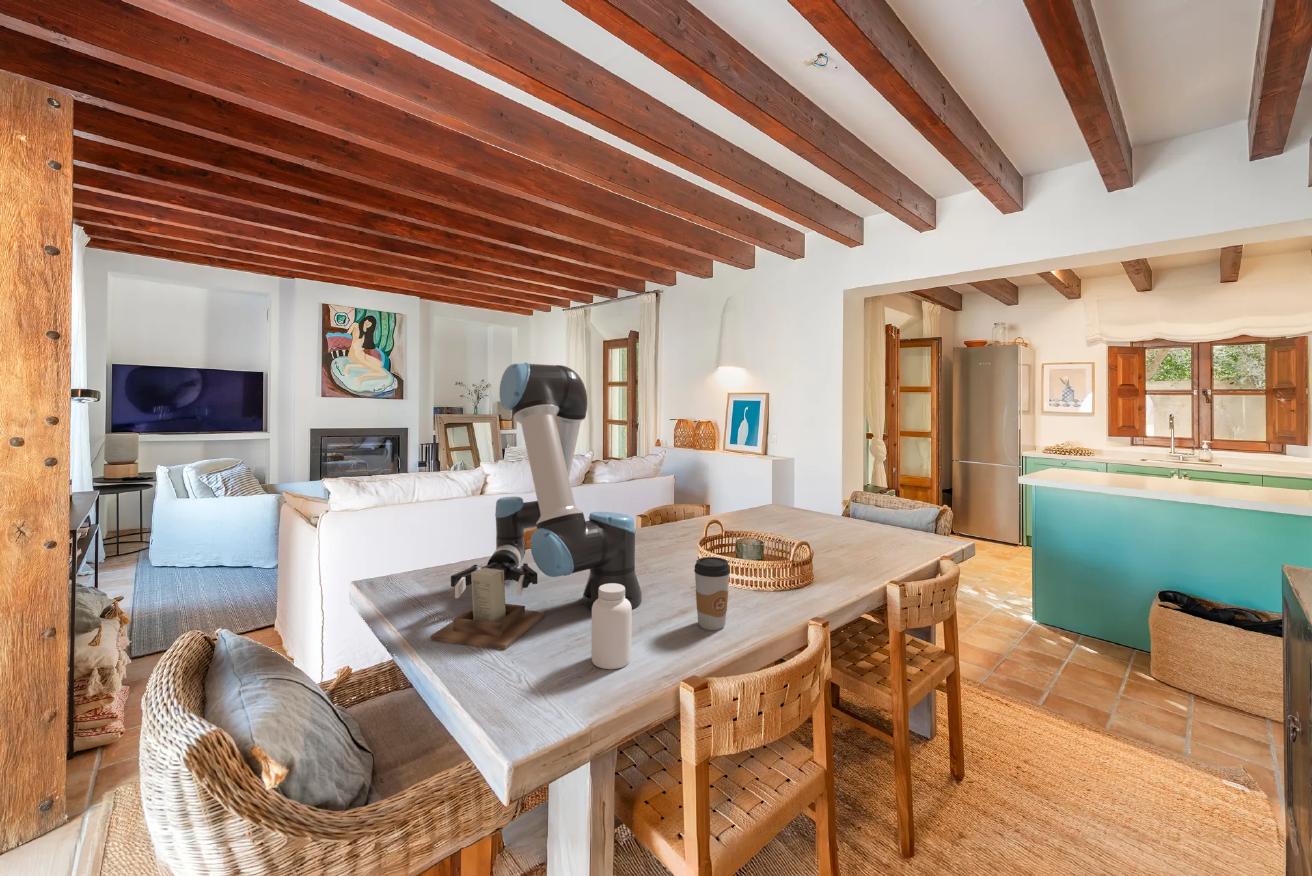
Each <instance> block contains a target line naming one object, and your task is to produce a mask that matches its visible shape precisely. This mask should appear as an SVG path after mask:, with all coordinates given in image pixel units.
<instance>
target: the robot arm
mask: <svg viewBox="0 0 1312 876" xmlns="http://www.w3.org/2000/svg"><path fill="white" fill-rule="evenodd" d="M501 376H502V377H501V379H500V384H499V390H498V391H499V401H500V404H501V406H502V407H503V408H504V409H506V410H507V411H512V416H513V417H512V418H513V420H514V421H515V422H517V423H519V424H520V425H521V429H522V433H523V434H522V435H523V440H524V443H525V449H526V453H527V458H528V462H529V467H530V471H531V476H532V481H533V484H534V485H533V486H534V491H535V495H536V499H537V500H533V501H526V502H524V499H523V498H522V497H520V496H504V497H500V498H498V499H497V500H496V503H495V530H496V531H495V534H496V535H495V536H496V537H495V541H496V542H495V545H496V548H495V551H494V552H493V554H492V555H491V556H490V558H489V560H488V562H487V564H486V565H484V566H481V567H479V565H478V564H473V565H472V566H470V567H468V568H466V569H464V570H461V571H459V572H457V573H455V574H452V575H450V587H452V588H454V599H459V598H460V597H461V595H462V594H463V592H464V591H465V590H466V588H467V586H470V585H472V580H471V572H474V571H477V570H479V569H482V568H490V569H498V570H504V582H505V581H510V582H511V581H515V582H517V583H516V596H517V597H520V596H522V592H523V590H524V589H526V588H527V589H528V587H529V585H530V584H532V585H538V572H536V570H534V569H532V568H531V567H530V566H529V565H528V563H526V562H525V563H523V564H521V562H522V560H523V559H524V557H525V554H526V544H525V539H524V537H525V530H526V529H532V528H536V530H535V531H533V533H532V535H531V537H530V552H531V556H532V559H533V561H534V563H535V565H536V566H537V568H538V569H539V570H540V571H541V572H542V574H544V575H546V576H548V577H551V578H557V577H561V576H570V575H573V574H574V573H579V572H583V571H586V570H587V571H588V570H589V575H588V577H587V579H586V580H587V581H586V584H585V587H584V591H583V593H582V598H583V599H582V601H583V602H582V603H583V604H582V605H583V606H584V607H585V608H587V609H589V610H591V611H592V606H593V603H594V602H595V601H596V600H597V599H599V597H598V596H599V595H598V589H599V587H600V586H601V585H604V584H609V583H616V584H621V585H623V586H624V587H625V598H626V599H627V600H628V601H629V602H630V604H631V607H632V610H634V609H635V608H637V607H639V606H640V605H641V604H642V598H643V597H642V596H643V595H642V590H641V586H640V583H639V581H638V577H637V575H636V566H635V565H636V553H635V551H636V533H637V532H636V530H635V529H636V527H635V525H636V524H635V519H634V518H633V517H632V516H631V515H629V514H624V513H619V512H611V511H592V512H591V513H589V517H588V519H589V520H586V519H585V515H584V512H583V511H581V510H580V509H578V508H577V507H576V503H575V499H574V494H573V490H572V485H571V482H570V481H571V480H570V475H571V471H572V470H571V469H572V465H573V459H574V457H575V451H576V450H575V449H576V446H577V441H578V437H579V432H580V427H581V423H582V421H584V420H585V419H586V417H587V416H586V415H587V411H588V395H587V394H588V393H587V389H586V387H585V383H584V382H583V380H582V378H581V377H580V376H579V374H578V373H577V372H576V371H575V370H573V369H572V368H570V367H568V366H565V365H562V364H561V365H558V364H556V365H553V364H540V363H539V364H538V363H537V364H535V363H528V362H524V363H512V364H510V365H509V366H508V367H506V369H504V371H503V374H502V375H501ZM520 564H521V565H520Z"/></svg>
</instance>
